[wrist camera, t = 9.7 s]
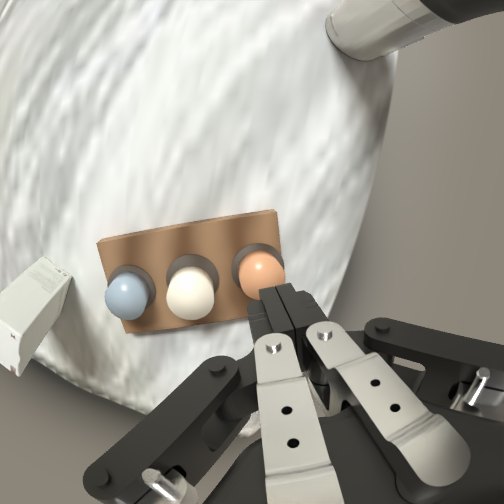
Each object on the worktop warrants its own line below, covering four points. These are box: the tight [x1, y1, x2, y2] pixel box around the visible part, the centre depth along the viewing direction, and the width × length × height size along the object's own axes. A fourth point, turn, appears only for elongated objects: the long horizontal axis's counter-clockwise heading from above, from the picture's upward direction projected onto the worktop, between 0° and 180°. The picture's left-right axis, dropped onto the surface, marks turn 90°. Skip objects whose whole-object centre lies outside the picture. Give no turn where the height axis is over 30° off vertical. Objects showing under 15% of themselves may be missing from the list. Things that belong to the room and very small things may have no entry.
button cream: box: [166, 267, 214, 320], centre depth 29 cm, size 5×5×3 cm
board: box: [96, 210, 284, 334], centre depth 33 cm, size 22×13×2 cm, turn 97°
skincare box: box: [0, 257, 72, 377], centre depth 25 cm, size 8×6×15 cm
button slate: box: [105, 271, 150, 320], centre depth 30 cm, size 5×5×3 cm
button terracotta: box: [237, 250, 285, 300], centre depth 32 cm, size 5×5×3 cm
